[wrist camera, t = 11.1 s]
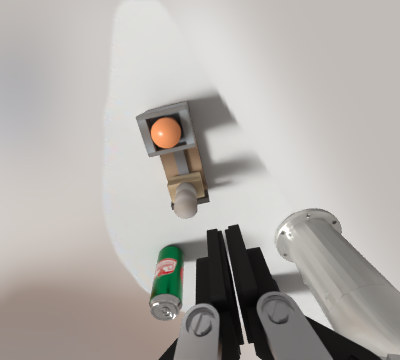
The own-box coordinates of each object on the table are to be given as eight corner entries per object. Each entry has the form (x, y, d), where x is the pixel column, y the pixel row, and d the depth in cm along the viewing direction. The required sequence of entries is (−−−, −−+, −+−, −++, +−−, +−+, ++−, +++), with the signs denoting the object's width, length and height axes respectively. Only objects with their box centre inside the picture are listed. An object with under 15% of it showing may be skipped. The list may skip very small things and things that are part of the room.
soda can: (176, 240, 42) (171, 295, 31) (188, 258, 44) (187, 315, 33) (154, 250, 43) (141, 306, 32) (166, 267, 45) (159, 326, 34)
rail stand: (207, 189, 38) (211, 213, 31) (174, 196, 38) (170, 222, 31) (186, 100, 32) (186, 105, 25) (148, 110, 32) (135, 117, 25)
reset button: (184, 139, 28) (183, 144, 25) (158, 145, 28) (155, 151, 26) (177, 113, 26) (176, 115, 24) (150, 119, 27) (146, 122, 24)
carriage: (203, 187, 35) (207, 214, 28) (174, 194, 36) (169, 222, 28) (199, 171, 34) (202, 194, 27) (169, 178, 34) (163, 202, 27)
